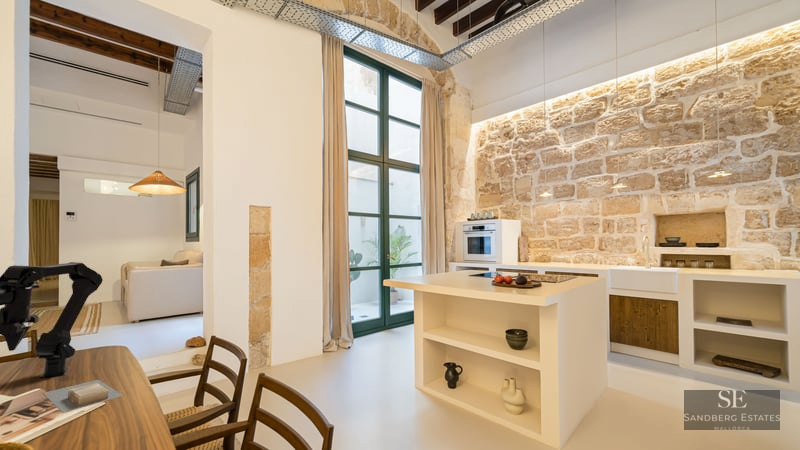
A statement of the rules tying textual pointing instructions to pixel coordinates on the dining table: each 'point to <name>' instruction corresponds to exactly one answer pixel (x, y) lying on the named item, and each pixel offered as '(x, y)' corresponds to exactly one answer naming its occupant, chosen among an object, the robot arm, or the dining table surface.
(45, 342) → the robot arm
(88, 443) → the dining table surface
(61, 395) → the rubber mat
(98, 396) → the oak slab
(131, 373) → the dining table surface
